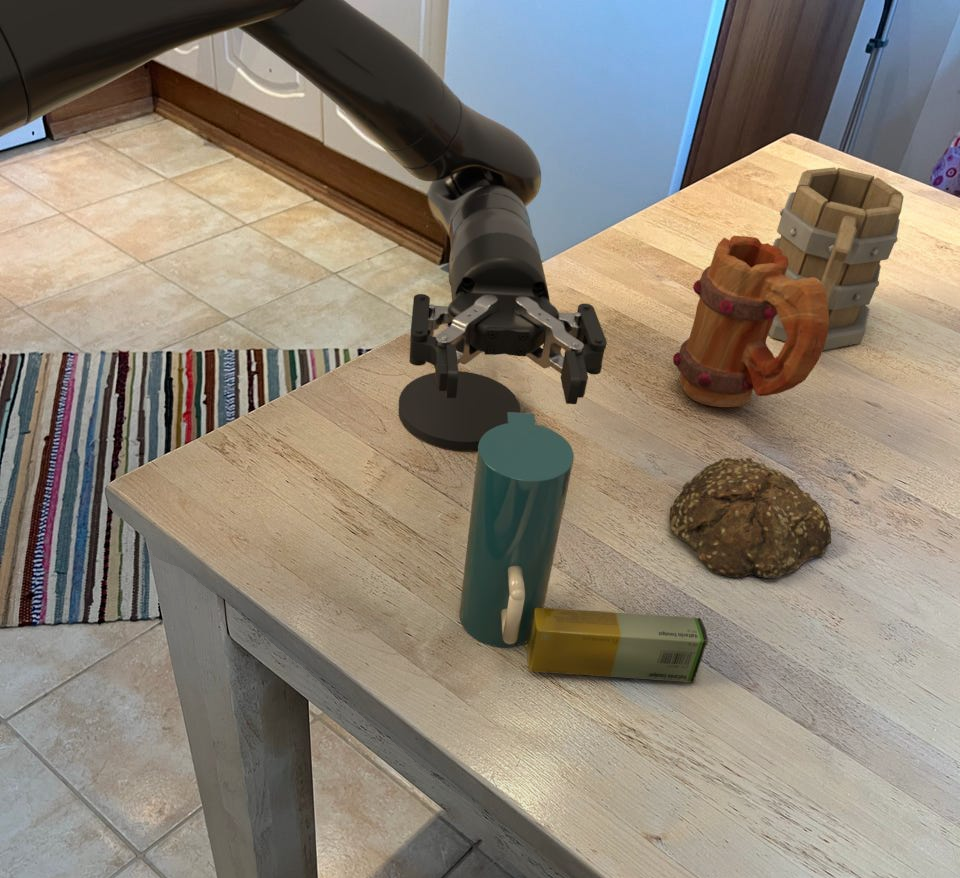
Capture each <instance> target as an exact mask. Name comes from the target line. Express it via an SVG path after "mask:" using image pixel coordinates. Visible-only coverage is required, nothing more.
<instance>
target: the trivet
mask: <svg viewBox="0 0 960 878" xmlns="http://www.w3.org/2000/svg"><path fill="white" fill-rule="evenodd" d="M521 409H522V407H521V404H520V401H519V399H518V397H517V396H516V395H515V394H514V393H513V391H512V390H511V389H509V388H508V387H507V386H506V385H504V384H503V383H501V382H499V381H498V380H496V379H493V378H491V377H489V376H486V375H483V374H479V373H474V372H470V371H461V370H458V384H457V395H456V399H455V398H446V391H439V390H438V389H437V387H436V377H435V372H430V373H426V374H424V375H421V376H419V377H416V378H415V379H412V381H410V382H409V383H407V384H406V385H405V386H404V388H403V389H402V391H401V392H400V395H399V397H398V409H397V410H398V417H399V419H400V422H401V424H402V425H403V427H404V428H405V430H406V431H408V432H409V433H410V434H411V435H412V436H414V437H415V438H417V439H418V440H420V441H422V442H424V443H425V444H428V445H431V446H433V447H437V448H441V449H443V450H444V449H445V450H451V451H458V452H473V451H475V452H476V451H478V445H479V441H480V439H481V437H482V436H483V435H484V434H485V433H486V432H487V431H489V430H490V429H492V428H494V427H496V426H499V425H502V424H506V418H507V413H508V412H516V413H522V412H521V411H522V410H521Z"/></svg>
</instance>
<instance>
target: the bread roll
mask: <svg viewBox="0 0 960 878" xmlns="http://www.w3.org/2000/svg"><path fill="white" fill-rule="evenodd" d="M668 519H669V520H668V521H669V529H670V531H671V533H672V534H673V535H675V536H676V537H677V538H679V539H680V540H682V541H683V542H685V543H686V544H688V545H690V546H691V547H692V548H693V549H694V550H695V552H696V553H697V555H698V558H699V560H700V562H701V563H702V564H703V565H704V566H705V567H706V568H707V569H708V570H709V571H710V572H712V573H714V574H716V575H721V576H726V577H731V578H737V579H739V578H743V577H746V576H748V575H753V576H756V577H760V578H766V579H775V578H780V577H782V576H783V575H787V574H793V573H794V572H795V571H797V570H799V569H800V566H802V564H803V563H804V562H807V561H808V560H810V559H818V558H820V557H822V556H823V555H825V554H826V551H825V548H826V547H828V546H829V545H831V543H832V528H831V524H830V521H829V520H830V519H829V517H828V515H827V513H826V512H825V511H824V509H823V507H821V505H820V504H819V503H818V502H817V501H816V500H814V499H813V497H812V496H811V494H810V493H809V492H805V491H803V490H802V489H801V488H800V487H799V484H797V483H796V482H795V480H793V479H792V478H791V477H789V476H787V475H786V474H785V472H781V470H780V471H779V470H778V469H775V468H773V467H772V468H769V467H767V466H766V464H765V463H764V462H758V461H754V460H753V459H752V457H746V458H745V459H744V458H742V457H740V458H735V457H734V458H732V457H724V458H721V459H719V460H718V461H715V462H713V463H712V464H711V463H710V464H709V465H707V466H705V467H704V468H703V469H701V471H700V472H698V473H696V474H695V476H693V477H692V479H691V480H690V481H689V482H685V483H684V484H683V486H682V490H681V492H680V493H679V494H678V495H677V497H676V498H675V499H674V501H673V504H672V505H671V506H670V508H669V518H668Z"/></svg>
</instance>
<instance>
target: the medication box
mask: <svg viewBox="0 0 960 878" xmlns="http://www.w3.org/2000/svg"><path fill="white" fill-rule="evenodd" d="M707 632H708V631H707V630H706V627H705V625H704V623H703V620H702V618H701V617H699V618H698V617H690V616H674V615H658V614H643V613H630V612H615V611H614V612H613V611H601V610H600V611H598V610H585V609H584V610H583V609H568V608H552V607H544V608H539V607H536V608H535V609H534V616H533V621H532V625H531V631H530V637H529V640H528V643H526V645H525V648H524V649H526V660H527V665H528V668H529V671H530V672H534V673H549V674H550V673H551V674H566V675H579V676H593V677H606V678H607V677H610V678H622V679H623V678H625V679H639V680H655V681H667V682H668V681H670V682H672V681H673V682H683V683H691V684H693V683H694V682H695V681H696V679H697V674H698V671H699V667H700V665H701V662H702V658H703V656H704V652H705V650H706V647H707V646H708V645H709V644H708V643H709V637H708V633H707Z"/></svg>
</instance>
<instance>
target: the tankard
mask: <svg viewBox="0 0 960 878" xmlns="http://www.w3.org/2000/svg"><path fill="white" fill-rule="evenodd" d="M903 203H904V194H903V193H902V192H901V191H900V190H898V189H896V188H895V187H893V186H892V185H890V184H888V183H887V182H885V180H882V178H879V177H875V175H871V174H868V173H864V172H859V171H854V170H850V169H846V168H843V167H837V168H836V166H835V167H834V166H833V167H824V168H816V169H806V170H805V171H803V172H802V173H801V175H800V178H799V180H798V183H797V186H796V189H795V191H793V192H790V193H789V195H788V197H787V200H786V202H785V205H784V208H781V209H780V211H779V216H780V219H779V222H778V226H777V229H776V232H777V233H778V235H780V237H779V238H775V239H774V241H773V244H772V246H776V247H778V248H779V249H780V250H781V251H782V255H785V256H786V257H787V258H788V267H787V270H786V274H785V276H786V277H788V278H790V279H792V280H794V281H795V280H800V279H803V278H811V277H815V278H817V279H818V280H819V281H820V282H821V283H822V284H823V286H824V288H825V290H826V296H827V303H828V313H829V324H828V334H827V337H826V341H825V346H824V349H823V351H829V350H832V349H839V348H844V347H849V346H853V344H855V345H859V344H861V342H862V340H863V338H864V336H865V333H866V329H867V324H868V319H869V314H870V308H869V307H868V305H870V304H871V301H872V298H873V295H874V294H875V292H876V289H877V288H878V287H879V286H880V281H879V277H880V272H881V267H882V266H881V261H887V260H889V259H890V258H889V257H890V255H891V253H892V251H893V248H894V246H895V244H896V243H897V242H898V232H899V227H900V223H901V222H900V221H901V219H900V215H901V213H902V208H903ZM768 336H770V337H771V338H772V339H774V340H778V341H781V342H784V343H785V342H786V340H787V334H786V331H785V329H784V327H783V325H782V323H781V320H780V318H779V315H778V314H777V315H776V316H775V317H774V320H773V323H772V326H771V328H770V331H769V333H768ZM848 345H849V346H848ZM843 346H844V347H843ZM838 347H839V348H838Z"/></svg>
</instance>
